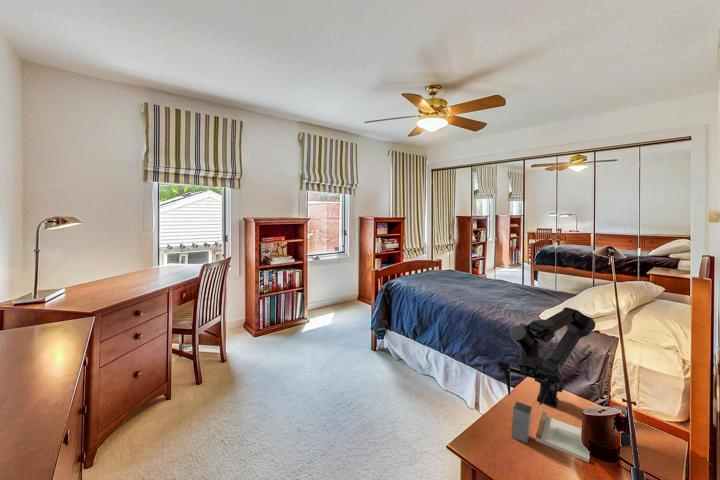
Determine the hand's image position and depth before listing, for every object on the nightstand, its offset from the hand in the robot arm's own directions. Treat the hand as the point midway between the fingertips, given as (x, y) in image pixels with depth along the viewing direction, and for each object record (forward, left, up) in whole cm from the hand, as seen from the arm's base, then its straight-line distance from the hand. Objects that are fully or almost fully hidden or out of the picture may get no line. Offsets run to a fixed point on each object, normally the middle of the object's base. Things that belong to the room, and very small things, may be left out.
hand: (524, 399), depth 102 cm
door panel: (-4, +11, -11) cm, 16 cm away
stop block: (+4, 0, -11) cm, 11 cm away
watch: (-14, +25, -11) cm, 30 cm away
